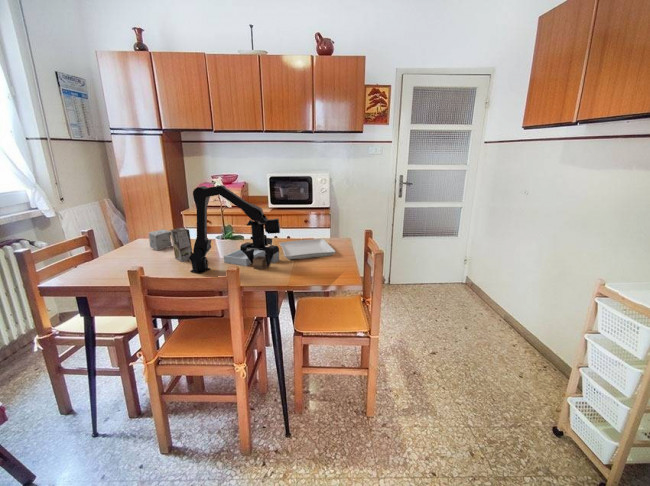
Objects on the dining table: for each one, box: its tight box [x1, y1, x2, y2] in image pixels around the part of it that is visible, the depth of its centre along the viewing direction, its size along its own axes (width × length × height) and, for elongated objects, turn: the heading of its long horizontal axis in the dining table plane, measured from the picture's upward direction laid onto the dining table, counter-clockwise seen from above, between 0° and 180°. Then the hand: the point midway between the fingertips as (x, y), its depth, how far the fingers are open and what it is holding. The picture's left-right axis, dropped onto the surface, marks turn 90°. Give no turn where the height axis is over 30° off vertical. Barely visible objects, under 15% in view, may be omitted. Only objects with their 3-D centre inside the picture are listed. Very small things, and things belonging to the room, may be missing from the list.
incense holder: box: [148, 228, 173, 251], centre depth 179 cm, size 10×8×10 cm
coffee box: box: [169, 227, 193, 262], centre depth 158 cm, size 9×6×16 cm
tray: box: [223, 245, 269, 267], centre depth 159 cm, size 22×14×4 cm, turn 156°
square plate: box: [278, 238, 337, 260], centre depth 167 cm, size 27×27×4 cm
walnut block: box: [252, 256, 269, 271], centre depth 144 cm, size 5×5×5 cm
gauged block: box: [265, 244, 280, 264], centre depth 152 cm, size 5×5×8 cm
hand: (260, 265), depth 144 cm, fingers open, 9 cm apart
